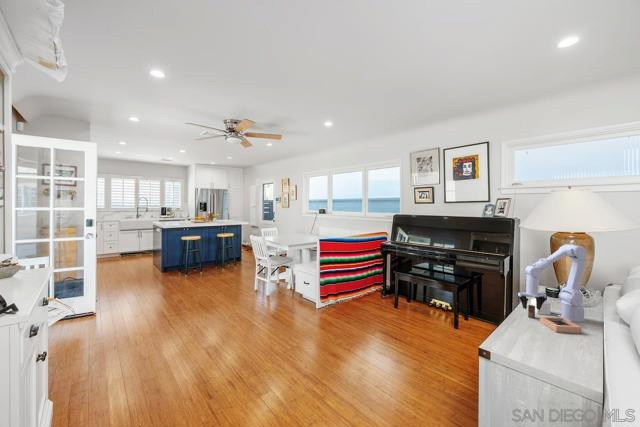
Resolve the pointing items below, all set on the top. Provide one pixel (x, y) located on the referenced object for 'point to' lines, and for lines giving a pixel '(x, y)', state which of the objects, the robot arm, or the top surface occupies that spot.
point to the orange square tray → (560, 325)
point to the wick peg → (531, 311)
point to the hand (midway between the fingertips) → (531, 308)
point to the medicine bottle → (542, 307)
